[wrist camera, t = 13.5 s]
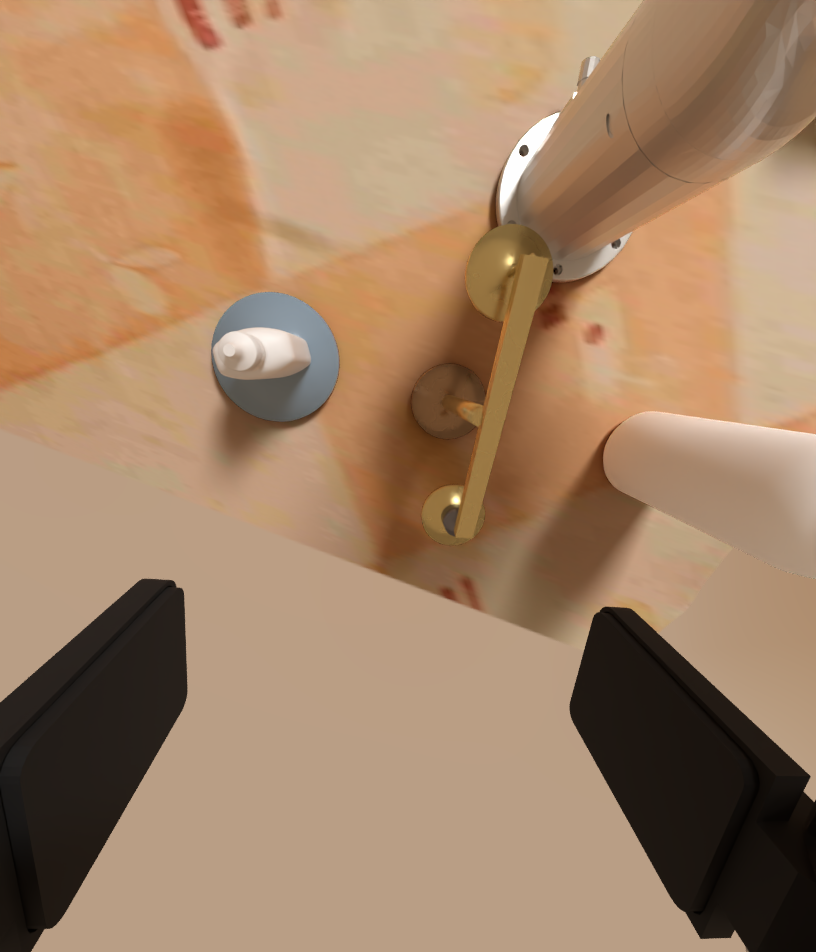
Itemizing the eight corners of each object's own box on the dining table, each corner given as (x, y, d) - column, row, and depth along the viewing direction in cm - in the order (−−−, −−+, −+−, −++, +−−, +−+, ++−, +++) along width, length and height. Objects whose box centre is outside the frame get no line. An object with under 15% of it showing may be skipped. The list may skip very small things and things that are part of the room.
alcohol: (689, 414, 40) (1516, 527, 11) (666, 495, 42) (1302, 767, 13) (608, 406, 39) (1274, 508, 10) (590, 489, 41) (1090, 768, 12)
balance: (425, 276, 34) (473, 180, 17) (500, 287, 35) (620, 205, 18) (399, 501, 40) (415, 602, 23) (465, 507, 41) (530, 608, 23)
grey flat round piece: (216, 286, 33) (210, 283, 32) (343, 303, 35) (342, 301, 33) (217, 413, 36) (212, 414, 35) (335, 425, 37) (334, 427, 36)
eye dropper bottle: (252, 321, 33) (186, 295, 22) (316, 343, 34) (285, 329, 23) (241, 371, 34) (172, 371, 23) (304, 391, 35) (268, 401, 24)
